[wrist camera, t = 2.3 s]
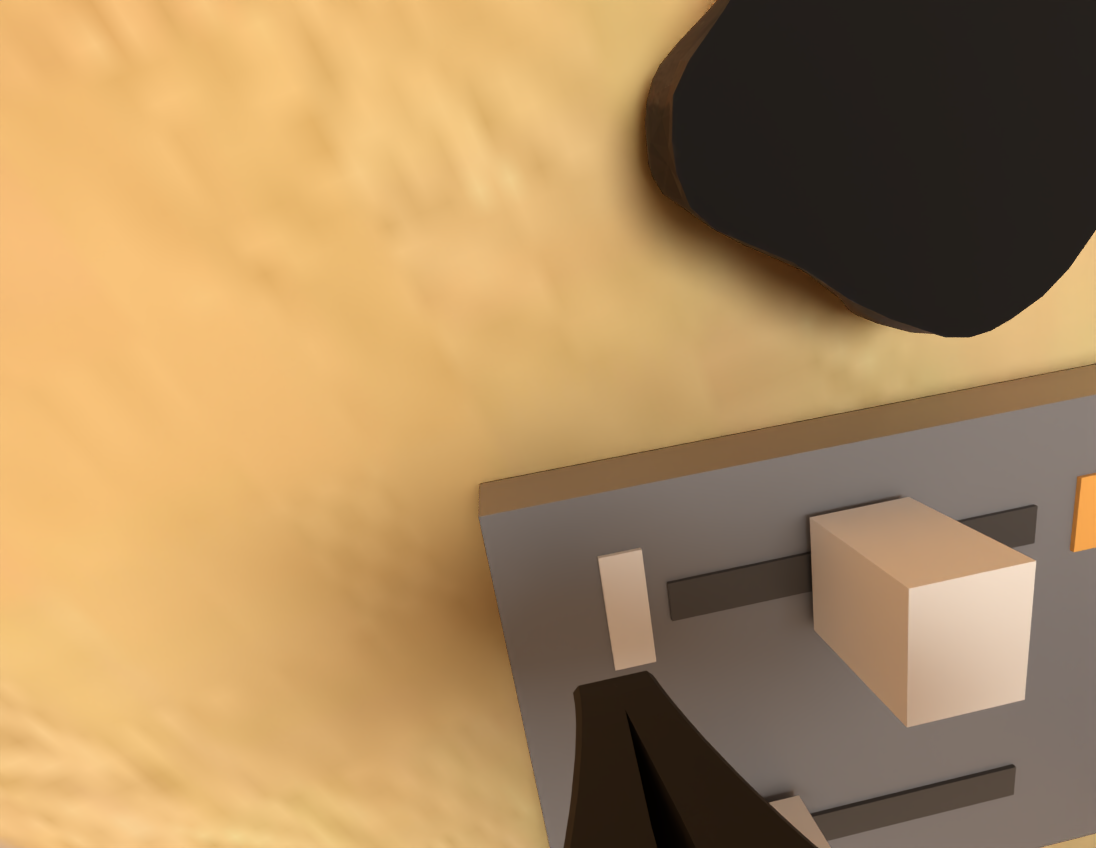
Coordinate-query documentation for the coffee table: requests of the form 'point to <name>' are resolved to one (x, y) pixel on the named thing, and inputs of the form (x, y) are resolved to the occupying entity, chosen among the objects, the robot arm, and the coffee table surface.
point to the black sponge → (890, 147)
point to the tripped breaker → (922, 608)
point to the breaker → (800, 819)
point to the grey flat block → (787, 610)
